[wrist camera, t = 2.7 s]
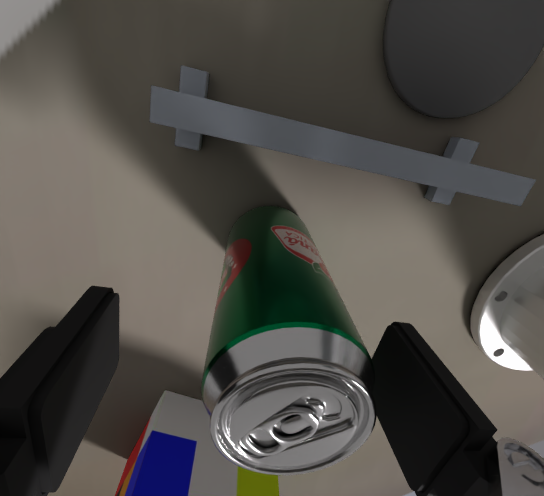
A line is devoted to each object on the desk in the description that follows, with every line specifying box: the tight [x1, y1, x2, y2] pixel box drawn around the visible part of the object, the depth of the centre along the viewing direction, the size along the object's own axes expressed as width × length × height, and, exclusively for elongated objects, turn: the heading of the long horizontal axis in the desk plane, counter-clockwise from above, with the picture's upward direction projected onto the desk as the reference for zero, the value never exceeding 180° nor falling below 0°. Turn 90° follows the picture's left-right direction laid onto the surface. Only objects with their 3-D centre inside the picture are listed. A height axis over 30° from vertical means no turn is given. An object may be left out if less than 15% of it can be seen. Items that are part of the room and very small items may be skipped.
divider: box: [150, 65, 536, 206], centre depth 14 cm, size 16×4×5 cm, turn 77°
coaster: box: [383, 0, 544, 118], centre depth 14 cm, size 8×8×1 cm
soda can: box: [201, 206, 377, 475], centre depth 13 cm, size 5×5×12 cm
